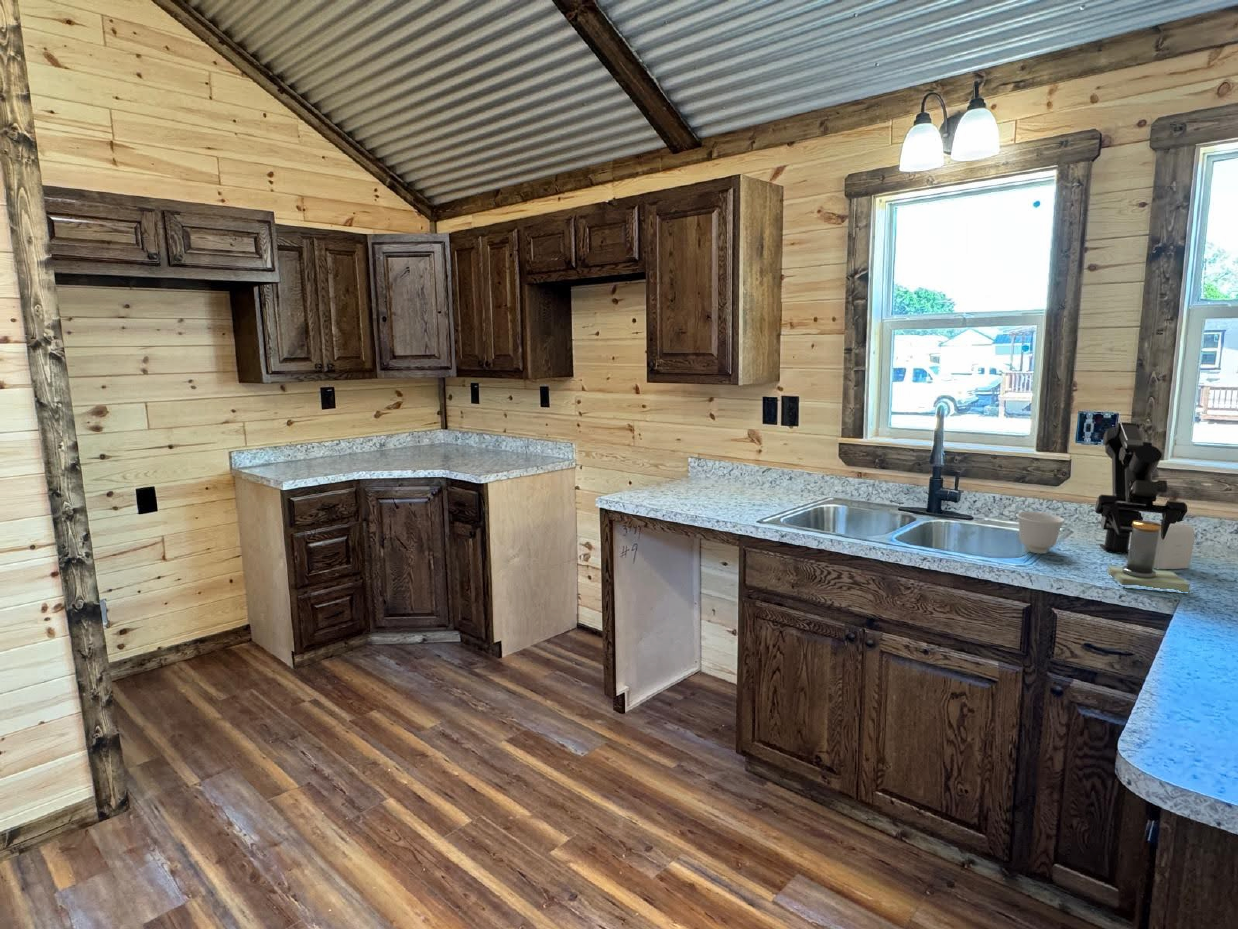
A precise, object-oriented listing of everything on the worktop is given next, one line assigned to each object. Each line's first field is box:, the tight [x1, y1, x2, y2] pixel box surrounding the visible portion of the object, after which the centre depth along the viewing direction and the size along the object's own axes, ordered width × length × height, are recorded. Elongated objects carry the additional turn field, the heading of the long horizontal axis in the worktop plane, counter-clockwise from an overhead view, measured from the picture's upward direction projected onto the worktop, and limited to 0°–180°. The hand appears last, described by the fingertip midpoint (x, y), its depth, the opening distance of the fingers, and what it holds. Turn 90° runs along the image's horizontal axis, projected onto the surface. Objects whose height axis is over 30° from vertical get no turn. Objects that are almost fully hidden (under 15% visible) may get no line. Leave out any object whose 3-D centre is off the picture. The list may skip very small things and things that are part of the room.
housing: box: [1122, 520, 1161, 579], centre depth 180 cm, size 7×7×13 cm
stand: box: [1107, 565, 1191, 592], centre depth 181 cm, size 10×14×2 cm
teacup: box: [1015, 511, 1066, 554], centre depth 208 cm, size 12×15×10 cm
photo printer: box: [1153, 522, 1196, 570], centre depth 193 cm, size 10×4×12 cm, turn 96°
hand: (1141, 536), depth 183 cm, fingers open, 9 cm apart
